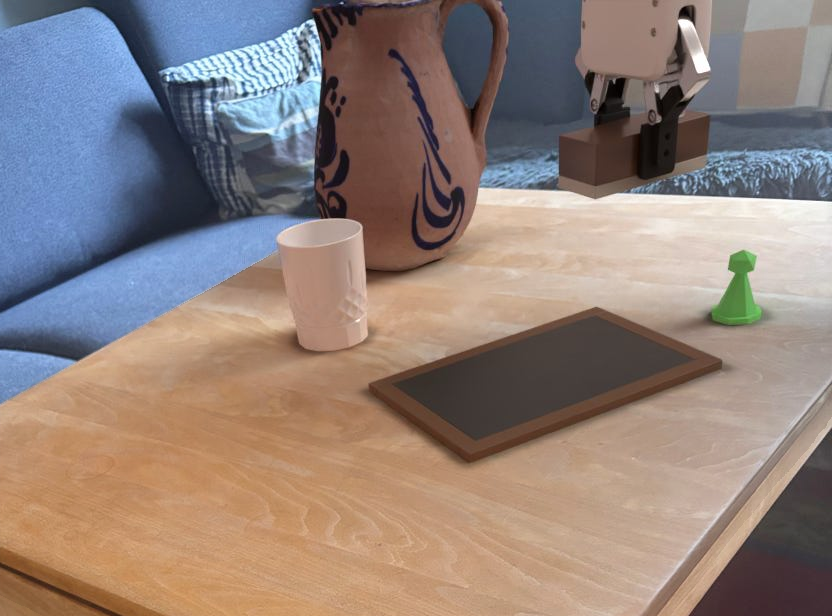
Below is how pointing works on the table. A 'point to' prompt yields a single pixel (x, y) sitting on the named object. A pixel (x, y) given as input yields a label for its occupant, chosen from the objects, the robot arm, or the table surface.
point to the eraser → (624, 154)
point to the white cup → (325, 282)
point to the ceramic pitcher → (399, 127)
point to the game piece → (738, 293)
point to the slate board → (539, 381)
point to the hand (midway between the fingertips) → (632, 167)
